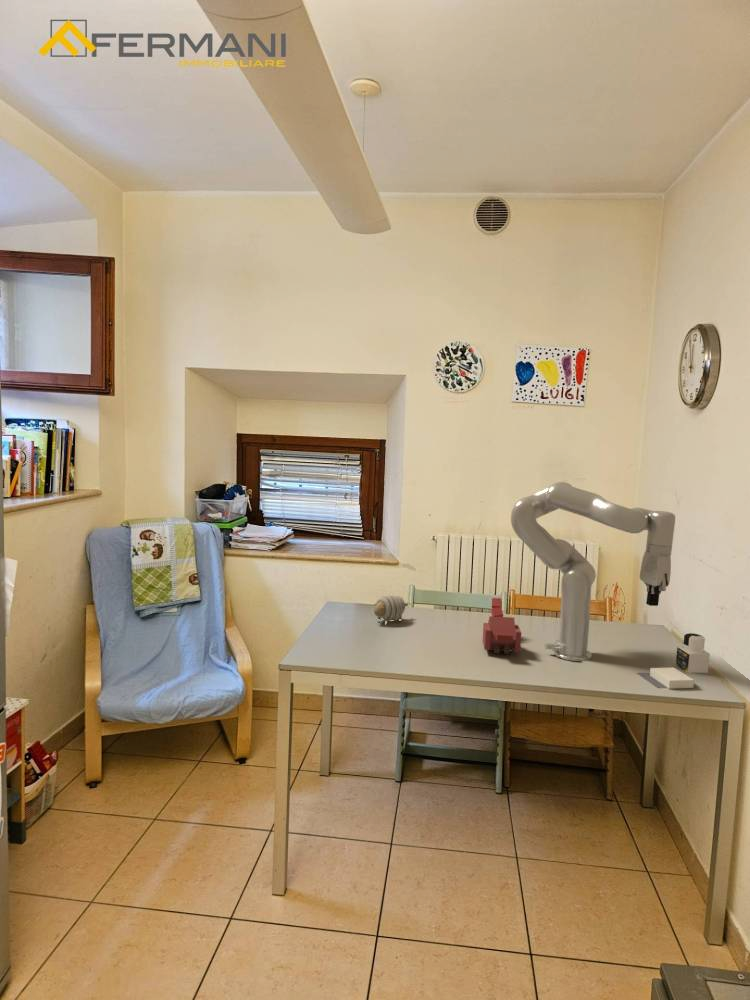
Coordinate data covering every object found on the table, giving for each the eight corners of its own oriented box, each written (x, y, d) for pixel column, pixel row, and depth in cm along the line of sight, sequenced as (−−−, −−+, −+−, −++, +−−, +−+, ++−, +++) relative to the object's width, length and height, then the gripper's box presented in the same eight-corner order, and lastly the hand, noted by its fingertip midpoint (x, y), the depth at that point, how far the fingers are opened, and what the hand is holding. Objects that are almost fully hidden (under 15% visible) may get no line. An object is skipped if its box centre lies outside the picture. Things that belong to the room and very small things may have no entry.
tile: (649, 676, 198) (668, 689, 188) (650, 668, 197) (669, 680, 188) (673, 675, 199) (693, 688, 189) (673, 667, 199) (694, 679, 189)
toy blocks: (515, 667, 222) (510, 605, 237) (524, 641, 206) (517, 576, 222) (481, 666, 223) (477, 604, 238) (487, 640, 207) (483, 575, 222)
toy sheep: (365, 622, 245) (366, 595, 244) (395, 614, 257) (396, 588, 256) (385, 629, 238) (386, 600, 237) (414, 620, 250) (415, 593, 249)
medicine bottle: (675, 666, 209) (678, 631, 208) (695, 666, 209) (698, 631, 208) (687, 674, 202) (690, 638, 201) (708, 674, 202) (711, 638, 201)
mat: (657, 690, 188) (657, 688, 188) (635, 674, 200) (636, 672, 200) (700, 688, 190) (700, 687, 190) (676, 673, 202) (676, 671, 202)
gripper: (635, 544, 208) (628, 598, 210) (661, 554, 193) (654, 611, 195) (655, 545, 209) (649, 598, 211) (683, 555, 194) (676, 612, 196)
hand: (652, 604), depth 203 cm, fingers closed
